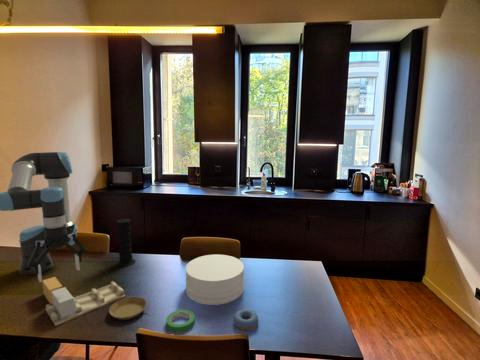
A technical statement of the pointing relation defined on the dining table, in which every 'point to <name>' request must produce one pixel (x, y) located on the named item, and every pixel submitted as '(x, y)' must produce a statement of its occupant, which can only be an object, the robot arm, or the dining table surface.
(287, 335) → the dining table surface
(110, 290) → the rack
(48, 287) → the tan rectangular block
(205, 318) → the dining table surface
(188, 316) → the tape roll
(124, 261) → the handle grip
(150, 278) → the dining table surface
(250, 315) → the doughnut
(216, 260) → the plate stack
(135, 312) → the plant saucer
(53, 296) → the grey bar
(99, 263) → the dining table surface
